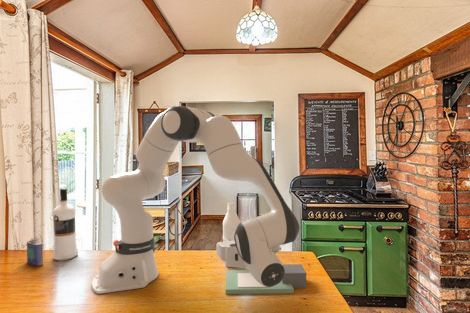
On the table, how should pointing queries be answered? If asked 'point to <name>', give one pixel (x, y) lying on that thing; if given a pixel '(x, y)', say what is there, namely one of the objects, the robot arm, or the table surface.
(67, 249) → the vodka
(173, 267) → the table surface
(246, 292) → the green board with pad
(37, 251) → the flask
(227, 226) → the water bottle
